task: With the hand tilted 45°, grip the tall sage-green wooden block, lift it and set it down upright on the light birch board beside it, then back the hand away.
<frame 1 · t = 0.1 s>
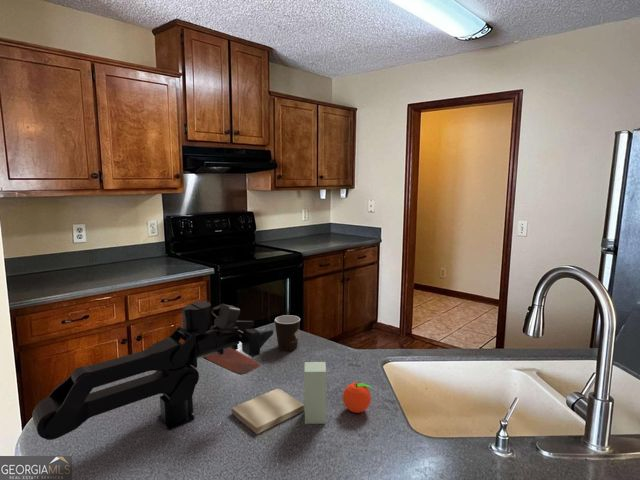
hand: (263, 327, 112), 17 cm above the countertop, tool horizontal, fingers open, 9 cm apart
green block: (315, 417, 98), on the countertop
birch board: (268, 412, 100), on the countertop
clementine: (358, 411, 101), on the countertop
wooden tablet: (226, 360, 131), on the countertop
coffee mug: (291, 346, 140), on the countertop
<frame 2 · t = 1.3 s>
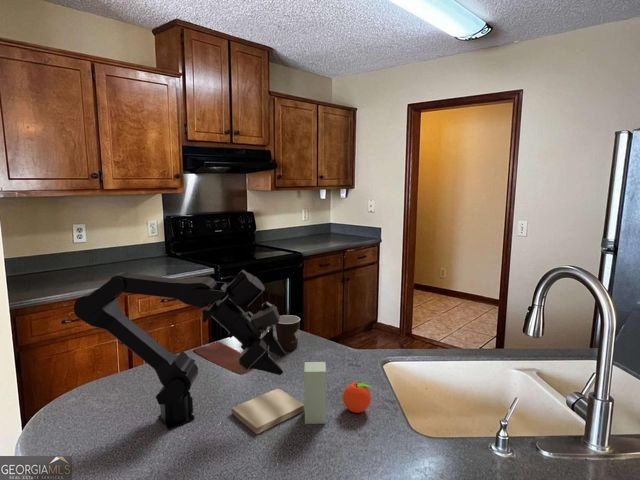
hand: (283, 364, 96), 14 cm above the countertop, tool tilted 45°, fingers open, 9 cm apart
nothing on the countertop moved.
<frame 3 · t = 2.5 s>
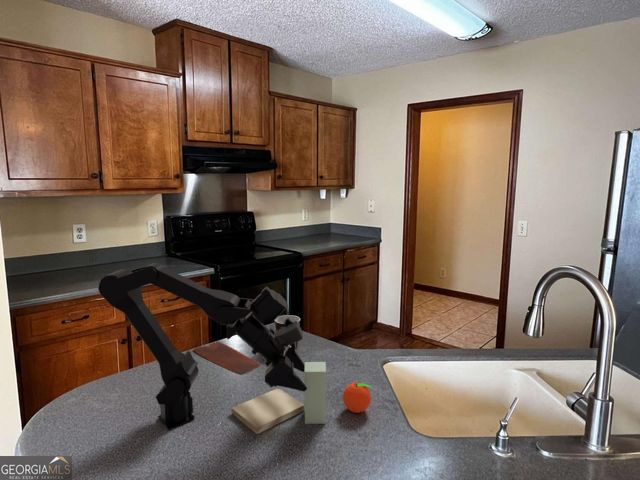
hand: (306, 380, 96), 10 cm above the countertop, tool tilted 45°, fingers open, 9 cm apart
nothing on the countertop moved.
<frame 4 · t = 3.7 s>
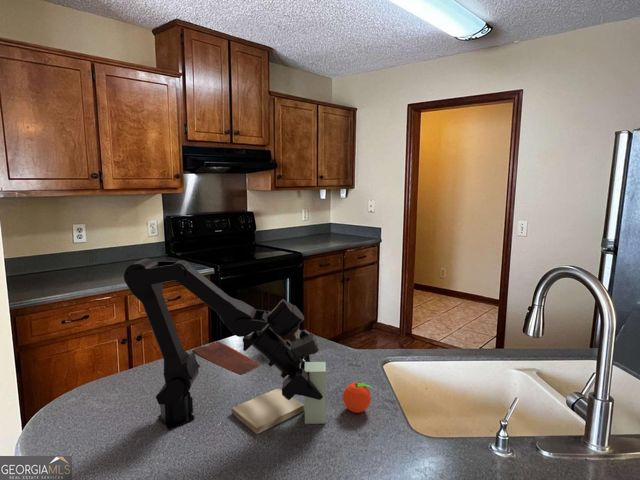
hand: (321, 391, 97), 7 cm above the countertop, tool tilted 45°, fingers closed on green block, 5 cm apart
green block: (315, 417, 98), on the countertop, touching gripper
everything else where it was.
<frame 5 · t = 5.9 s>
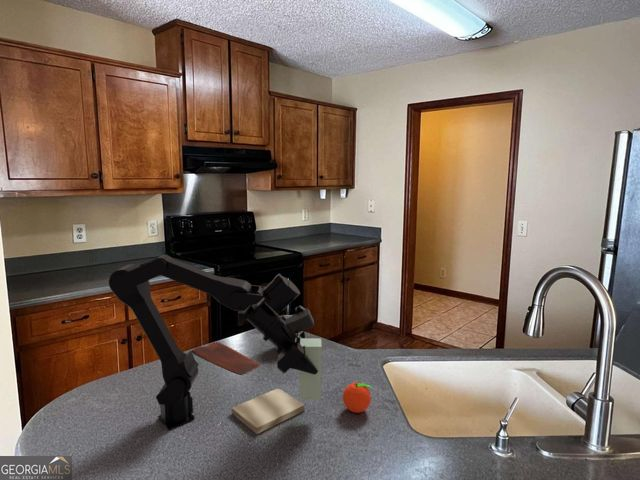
hand: (316, 367, 97), 12 cm above the countertop, tool tilted 45°, fingers closed on green block, 5 cm apart
green block: (310, 394, 97), point 6 cm above the countertop, touching gripper
everything else where it was.
when the fingers open (9 cm above the countertop, at t = 7.9 s): green block stays where it is, resting on birch board.
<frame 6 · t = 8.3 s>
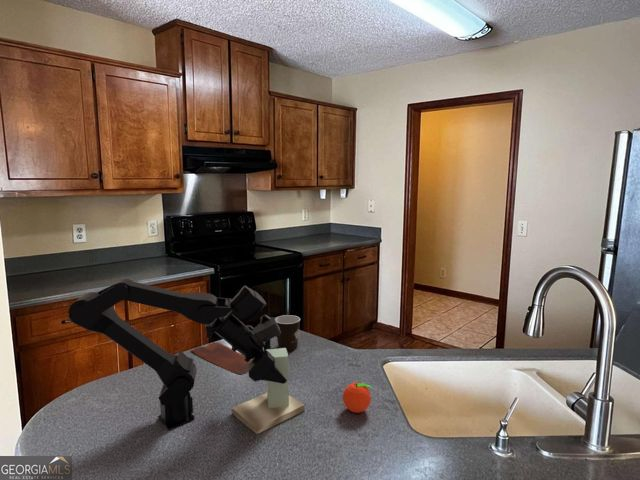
hand: (283, 373, 101), 9 cm above the countertop, tool tilted 45°, fingers open, 9 cm apart
green block: (277, 401, 102), point 2 cm above the countertop, touching birch board
everything else where it was.
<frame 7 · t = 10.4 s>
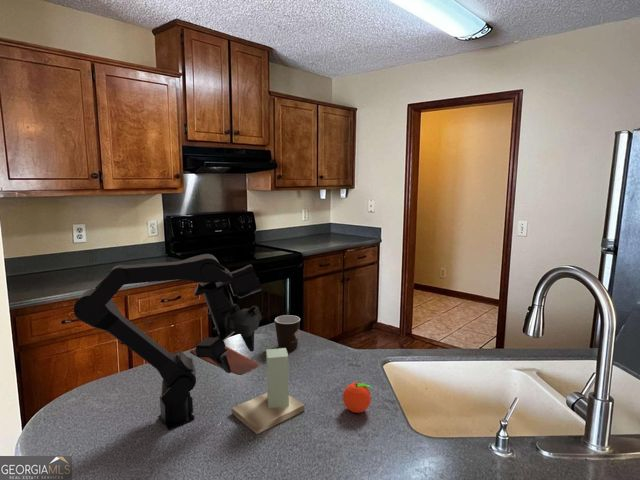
hand: (241, 361, 101), 12 cm above the countertop, tool tilted 15°, fingers open, 9 cm apart
nothing on the countertop moved.
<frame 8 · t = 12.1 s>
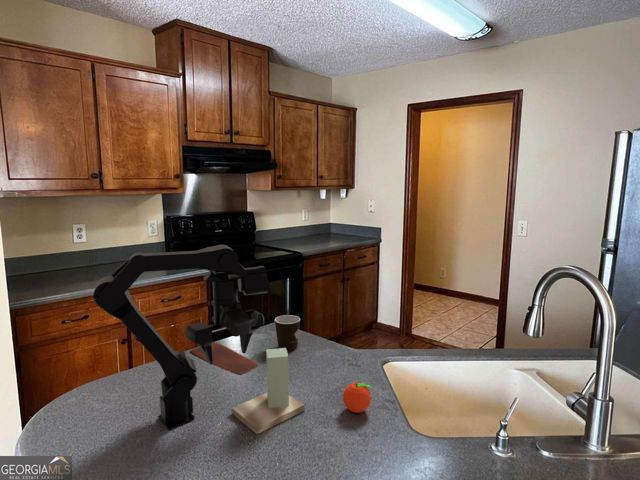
hand: (227, 358, 100), 13 cm above the countertop, tool pointing down, fingers open, 9 cm apart
nothing on the countertop moved.
at the end: green block inside the target area on the birch board (1.4 cm from its centre), point 1.5 cm above the birch board's base; green block tilted 0°; the gripper is holding nothing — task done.
